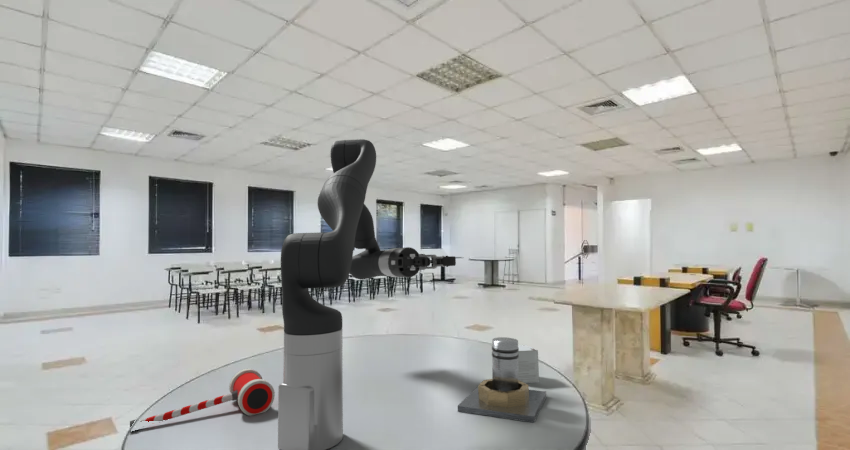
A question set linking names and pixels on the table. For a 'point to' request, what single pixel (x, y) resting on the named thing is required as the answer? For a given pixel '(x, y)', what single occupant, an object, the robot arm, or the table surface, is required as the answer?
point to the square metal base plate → (504, 402)
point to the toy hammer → (232, 397)
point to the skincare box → (528, 364)
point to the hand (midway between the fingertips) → (441, 261)
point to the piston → (505, 364)
